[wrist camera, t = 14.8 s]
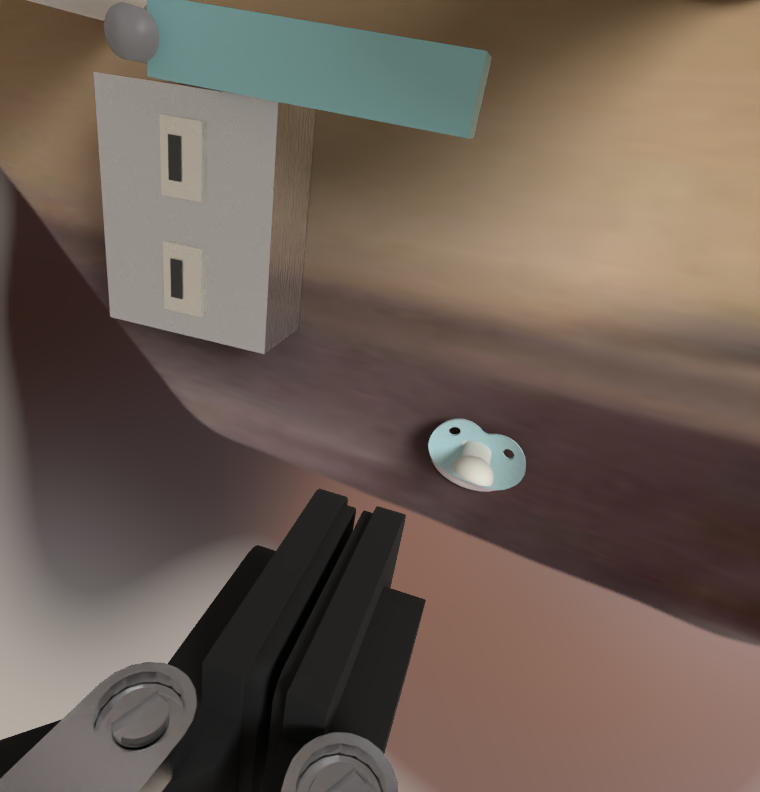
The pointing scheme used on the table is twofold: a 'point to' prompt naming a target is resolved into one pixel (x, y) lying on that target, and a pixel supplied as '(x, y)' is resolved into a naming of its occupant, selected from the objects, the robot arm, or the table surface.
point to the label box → (204, 209)
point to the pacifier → (475, 457)
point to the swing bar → (305, 63)
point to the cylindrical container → (88, 6)
